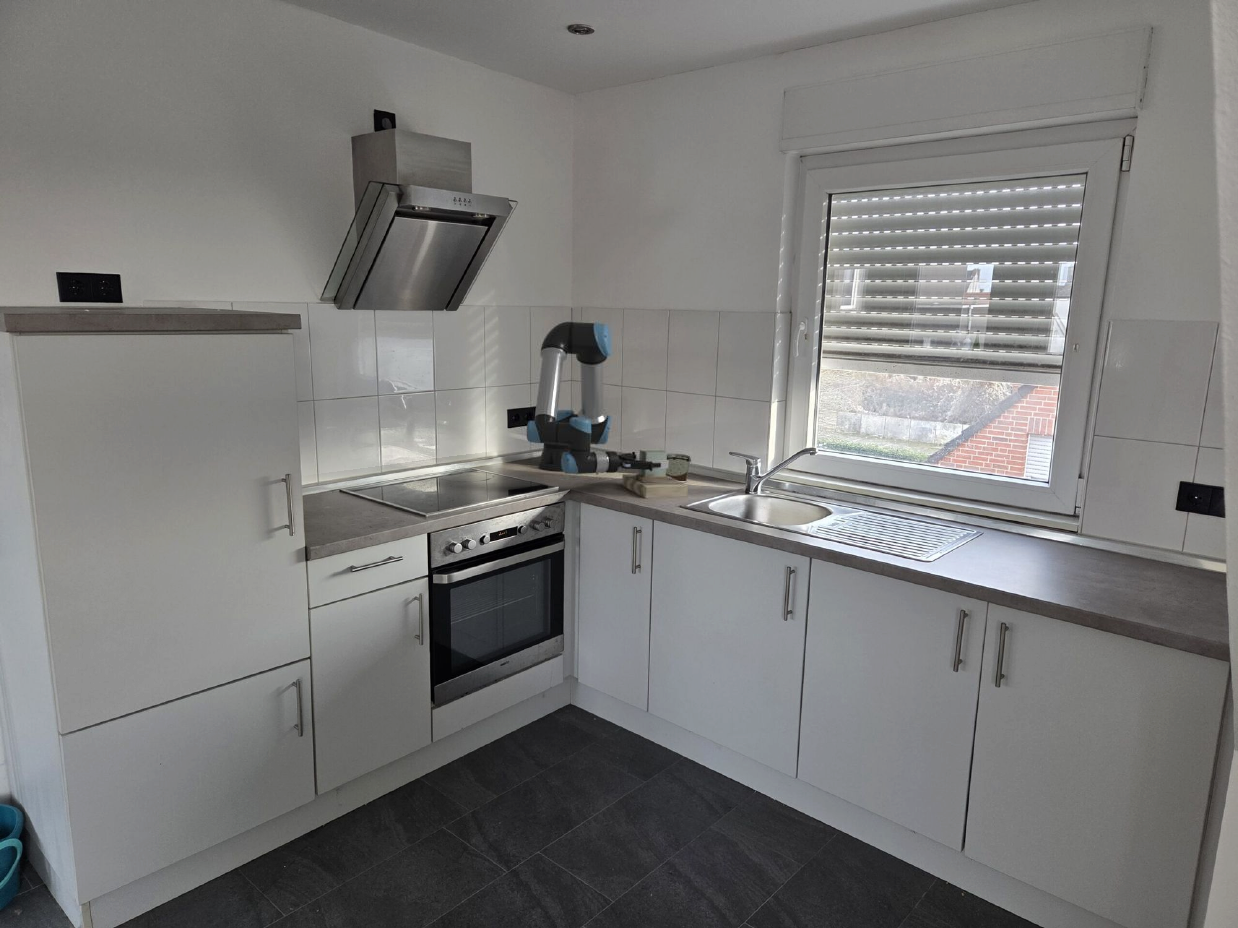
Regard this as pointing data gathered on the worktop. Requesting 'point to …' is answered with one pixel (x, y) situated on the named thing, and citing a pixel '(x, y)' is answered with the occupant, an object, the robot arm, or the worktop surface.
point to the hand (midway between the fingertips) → (660, 460)
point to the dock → (655, 487)
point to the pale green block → (655, 473)
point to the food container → (678, 466)
